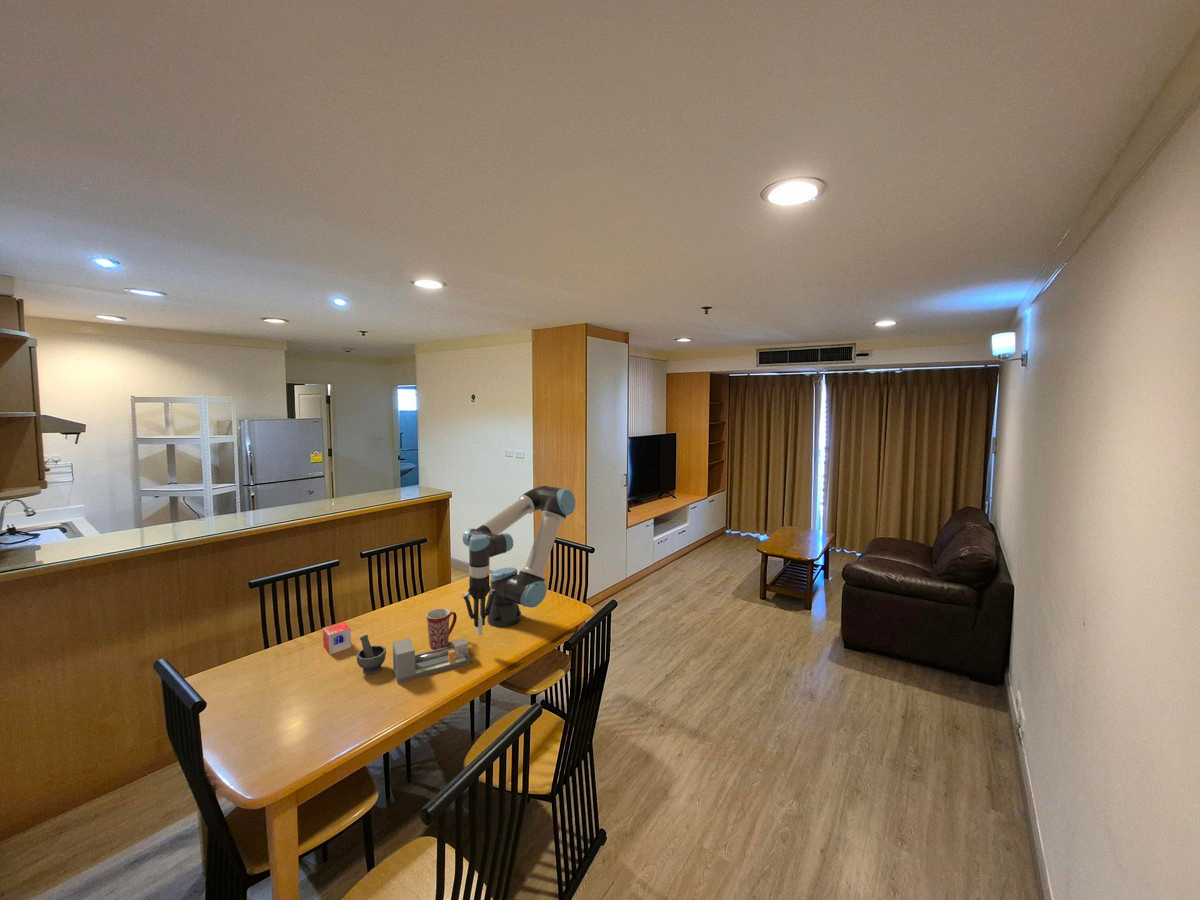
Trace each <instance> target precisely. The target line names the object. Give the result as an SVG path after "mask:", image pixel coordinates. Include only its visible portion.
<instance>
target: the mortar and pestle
mask: <svg viewBox="0 0 1200 900" xmlns="http://www.w3.org/2000/svg"><path fill="white" fill-rule="evenodd" d="M359 640H360V642H361V646H362V649H361V650H359V651H358V652H357V654H356V662H357V663H356V664H357V665H358V666H359V668H361V669H362V673H363V675H366V676H367V675H369V676H372V675H375V674H378V673H379V672H380V671H382V665H383V664H384V662H385V660H386V654H387V648H386V647H385V646H383V645H371V643H370V640H369V634H364V635H362V636H360V637H359Z"/></svg>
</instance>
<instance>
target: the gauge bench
mask: <svg viewBox="0 0 1200 900" xmlns="http://www.w3.org/2000/svg"><path fill="white" fill-rule="evenodd" d="M450 648H452V645H449V646H448V645H447V646H446V647H444V648H440V649H432V650H428V651H424V652H421V653H417V654H416V650H415V646H414V645H413V643H412V640H411V638H410V637H408V638H404V639H401V640H396V641H393V642H392V665H393V673H394V676H395V679H396V683H397V684H400V683H403V682H407V681H411V680H414V679H418V678H421V677H425V676H429V675H432V674H437V673H441V672H442V671H443V672H444V671H447V670H451V669H454V668H458V667H461V666H465V665H468V663H469V664H472V657H471V656H470V654H469V653H468V656H466V657H462V658H458V659H455V662H453V663H449V661H448V654H445V655H441V656H437V657H433V658H430V659H426V660H422V661H418V662H415V657H419V656H423V655H427V654H431V653H435V652H439V651H442V650H446V649H450ZM464 664H465V665H464Z"/></svg>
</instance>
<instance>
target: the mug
mask: <svg viewBox="0 0 1200 900" xmlns="http://www.w3.org/2000/svg"><path fill="white" fill-rule="evenodd" d="M452 615H453V618H452V622H451V624H450V617H451V616H452ZM425 617H426V623H427V633H428V643H429V645H428V646H429V648H430V649H432V650H436V649H440V648H444V647H448V645H449V637H450V635H451V633H452V631H453V629H454V627H455V626H456V623H457V613H456V612H455V611H452V610H451V611H450V610H449V609H447V608H435V609H432V610H430V611H428V612H427V613H426V615H425Z"/></svg>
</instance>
